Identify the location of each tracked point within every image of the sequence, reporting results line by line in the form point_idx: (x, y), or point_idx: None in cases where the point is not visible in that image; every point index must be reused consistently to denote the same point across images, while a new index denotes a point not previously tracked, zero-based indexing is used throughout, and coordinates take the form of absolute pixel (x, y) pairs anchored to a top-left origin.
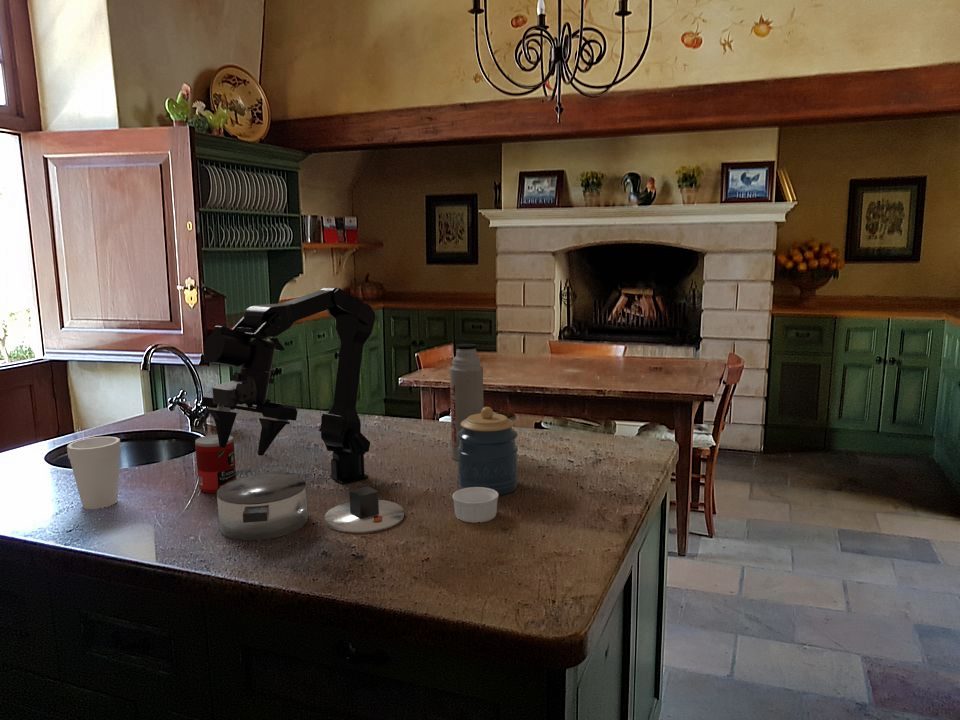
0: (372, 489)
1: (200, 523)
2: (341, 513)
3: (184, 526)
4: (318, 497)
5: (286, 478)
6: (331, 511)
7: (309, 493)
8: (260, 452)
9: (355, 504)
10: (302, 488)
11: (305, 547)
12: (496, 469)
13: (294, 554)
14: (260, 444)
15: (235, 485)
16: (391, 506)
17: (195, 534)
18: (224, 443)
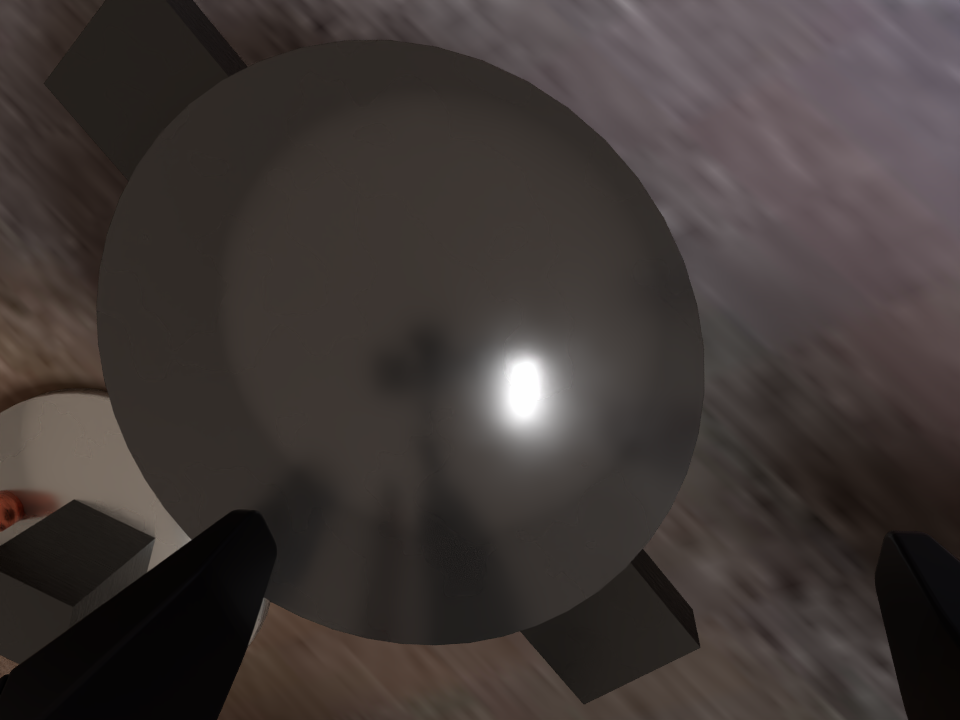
0: (5, 652)
1: (780, 151)
2: None
3: (847, 63)
4: (454, 665)
5: (374, 583)
6: None
7: (531, 694)
8: (207, 528)
9: (65, 547)
10: (144, 472)
11: (63, 186)
12: None
13: (39, 101)
14: (143, 601)
15: (592, 338)
16: None
17: (673, 9)
18: (900, 620)
